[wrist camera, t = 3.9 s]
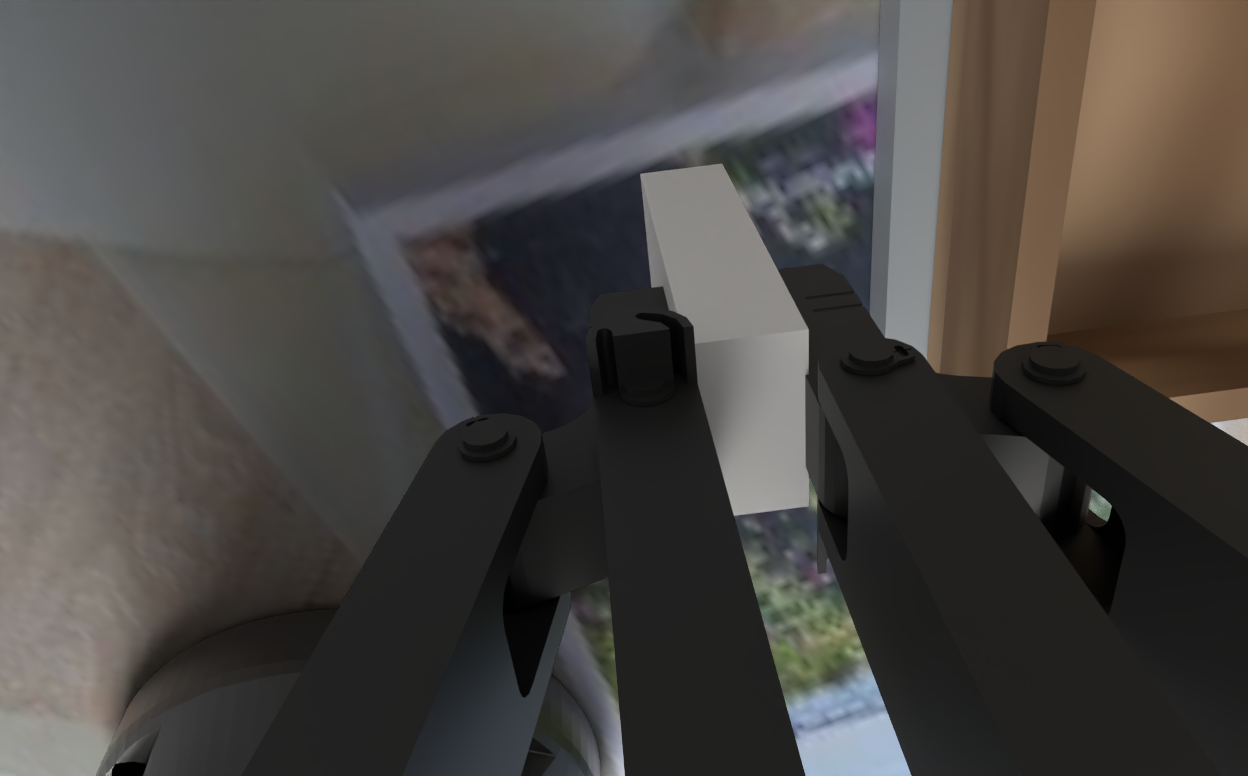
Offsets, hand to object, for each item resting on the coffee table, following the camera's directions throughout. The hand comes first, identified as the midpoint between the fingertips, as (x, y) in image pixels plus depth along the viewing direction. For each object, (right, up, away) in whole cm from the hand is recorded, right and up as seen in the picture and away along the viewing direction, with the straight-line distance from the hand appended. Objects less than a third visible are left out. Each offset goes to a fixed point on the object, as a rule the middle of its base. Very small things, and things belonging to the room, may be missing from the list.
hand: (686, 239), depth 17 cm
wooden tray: (+10, +3, +2) cm, 11 cm away
